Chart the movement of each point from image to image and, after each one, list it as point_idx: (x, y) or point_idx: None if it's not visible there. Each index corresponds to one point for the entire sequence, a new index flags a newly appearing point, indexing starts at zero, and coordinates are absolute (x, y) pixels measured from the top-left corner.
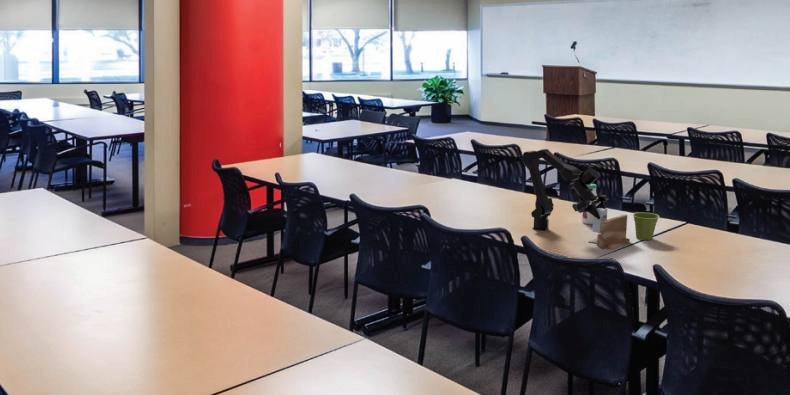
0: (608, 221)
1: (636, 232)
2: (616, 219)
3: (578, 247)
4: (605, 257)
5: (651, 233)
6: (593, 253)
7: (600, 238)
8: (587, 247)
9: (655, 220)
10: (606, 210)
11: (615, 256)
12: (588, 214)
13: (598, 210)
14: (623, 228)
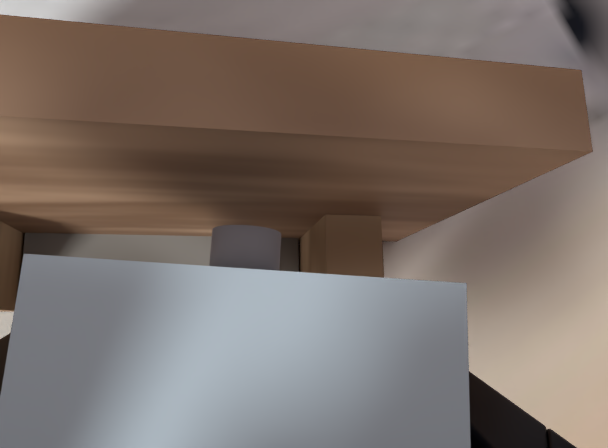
0: (470, 61)
1: None
2: (139, 37)
3: (534, 399)
4: (591, 73)
5: None
6: (579, 194)
7: (438, 220)
8: (472, 335)
9: None
10: (114, 262)
11: (514, 27)
12: None
13: (468, 408)
14: None
